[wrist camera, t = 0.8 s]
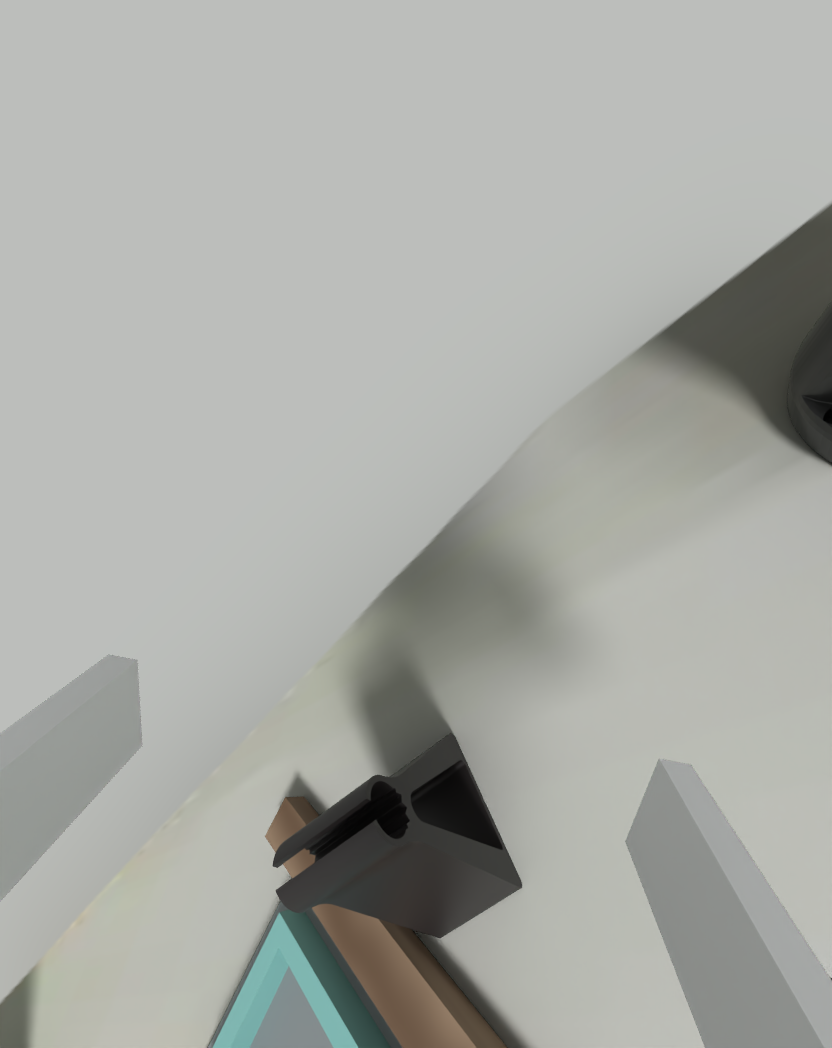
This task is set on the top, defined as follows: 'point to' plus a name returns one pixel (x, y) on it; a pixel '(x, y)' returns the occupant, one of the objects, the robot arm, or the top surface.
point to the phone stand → (406, 849)
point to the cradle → (301, 994)
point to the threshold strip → (391, 962)
